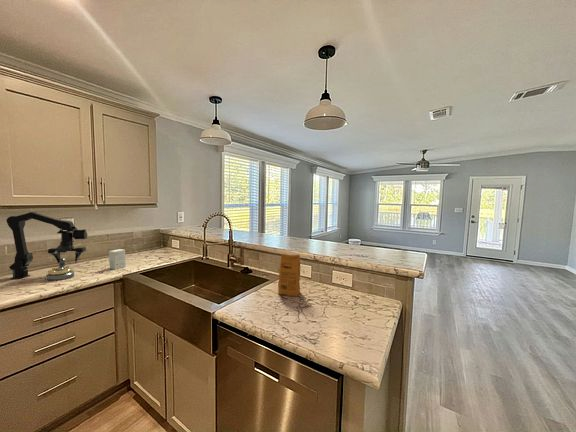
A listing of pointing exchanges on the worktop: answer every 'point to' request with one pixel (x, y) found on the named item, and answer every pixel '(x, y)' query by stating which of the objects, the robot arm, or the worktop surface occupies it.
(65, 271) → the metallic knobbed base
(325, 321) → the worktop surface
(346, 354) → the worktop surface
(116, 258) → the small box
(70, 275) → the housing
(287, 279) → the coffee package
